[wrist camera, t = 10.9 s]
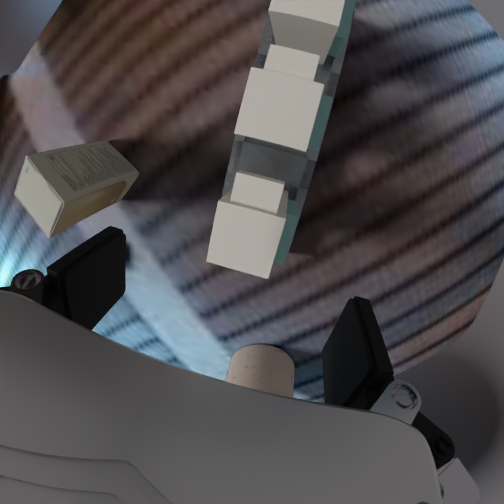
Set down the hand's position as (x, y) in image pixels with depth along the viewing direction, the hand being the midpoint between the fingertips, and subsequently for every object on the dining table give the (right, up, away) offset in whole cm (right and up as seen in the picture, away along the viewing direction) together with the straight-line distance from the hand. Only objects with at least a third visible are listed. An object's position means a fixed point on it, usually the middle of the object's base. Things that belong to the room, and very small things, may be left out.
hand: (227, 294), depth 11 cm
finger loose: (+2, +6, +14) cm, 15 cm away
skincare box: (-14, +11, +17) cm, 25 cm away
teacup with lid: (+3, -15, +25) cm, 29 cm away
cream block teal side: (+6, +20, +7) cm, 22 cm away
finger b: (+4, +13, +11) cm, 17 cm away
